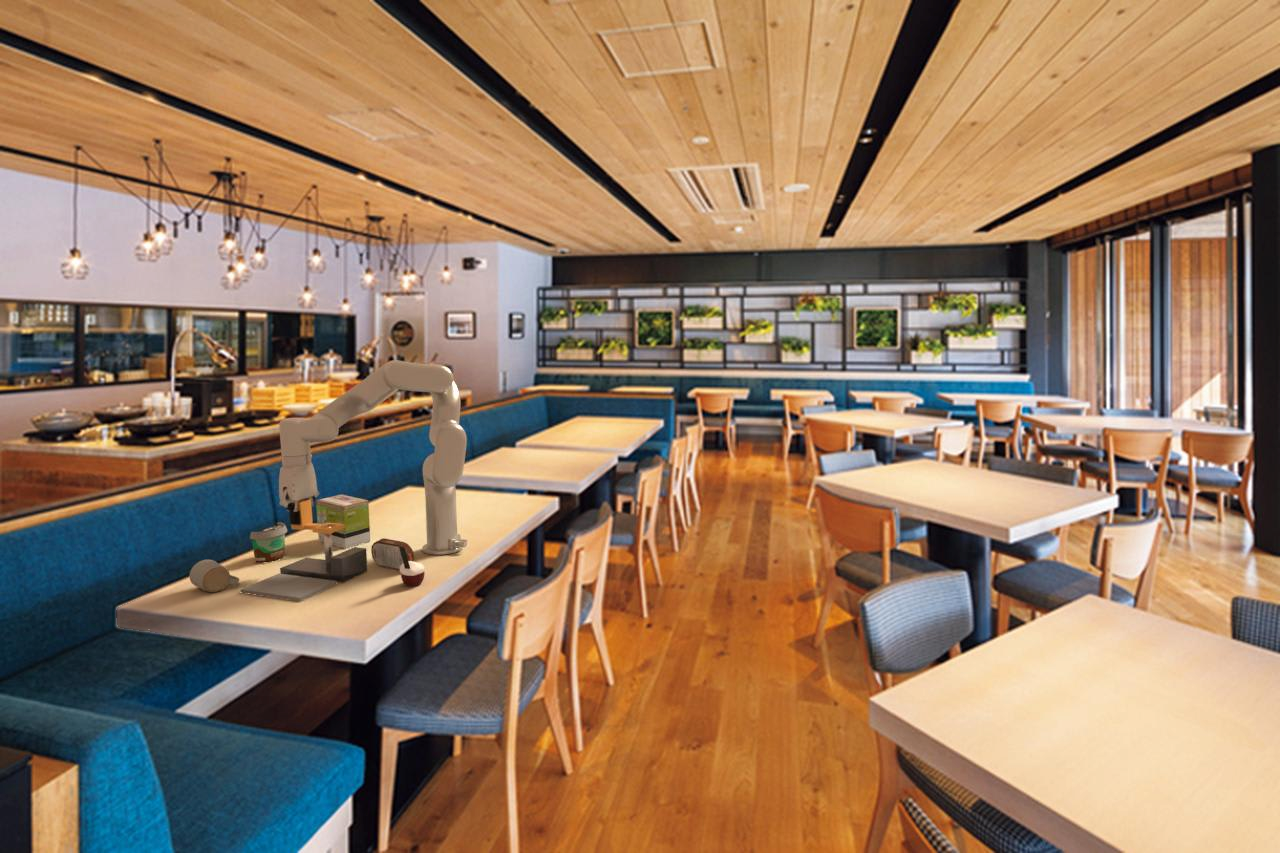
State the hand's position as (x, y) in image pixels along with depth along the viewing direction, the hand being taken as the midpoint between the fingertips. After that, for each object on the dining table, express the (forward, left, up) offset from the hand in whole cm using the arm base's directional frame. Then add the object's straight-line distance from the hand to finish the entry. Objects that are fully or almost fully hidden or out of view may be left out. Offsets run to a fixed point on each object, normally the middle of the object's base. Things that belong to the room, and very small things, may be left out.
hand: (301, 521), depth 199 cm
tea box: (+9, -27, -15) cm, 32 cm away
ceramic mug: (+12, +19, -15) cm, 27 cm away
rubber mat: (-7, +13, -15) cm, 21 cm away
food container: (+17, -6, -15) cm, 23 cm away
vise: (-7, 0, -15) cm, 16 cm away
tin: (-23, -10, -15) cm, 29 cm away
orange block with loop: (-5, 0, -2) cm, 6 cm away
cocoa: (-37, 0, -15) cm, 40 cm away
